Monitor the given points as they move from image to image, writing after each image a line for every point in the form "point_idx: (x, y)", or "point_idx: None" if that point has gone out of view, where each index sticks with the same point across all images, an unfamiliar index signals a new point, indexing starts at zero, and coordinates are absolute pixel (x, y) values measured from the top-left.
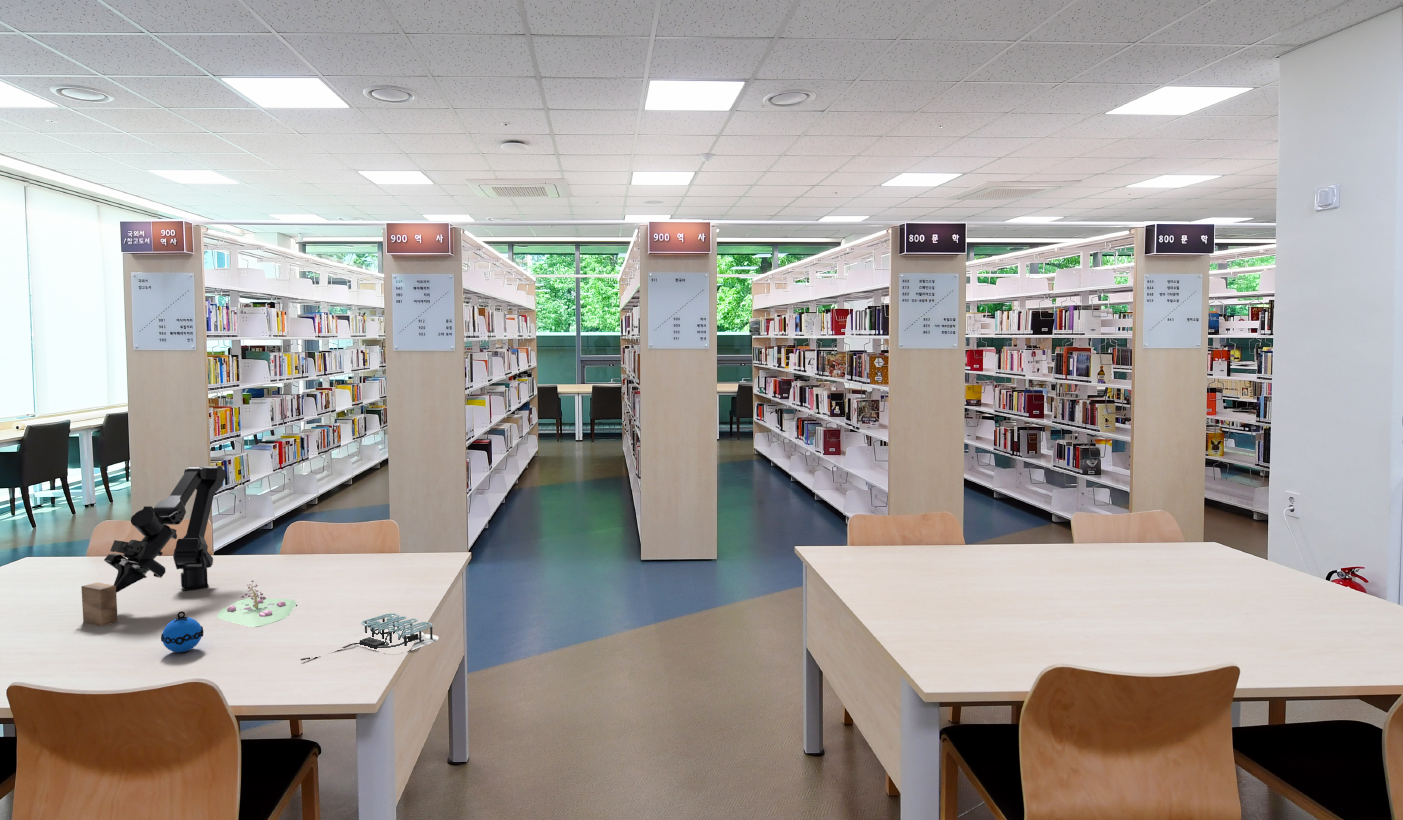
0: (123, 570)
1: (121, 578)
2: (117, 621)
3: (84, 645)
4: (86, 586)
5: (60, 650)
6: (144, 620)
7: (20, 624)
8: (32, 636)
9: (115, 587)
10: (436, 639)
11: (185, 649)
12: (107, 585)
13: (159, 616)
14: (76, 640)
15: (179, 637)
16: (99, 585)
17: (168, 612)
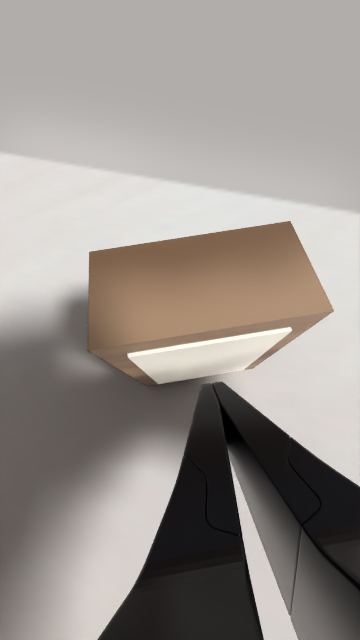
0: (358, 616)
1: (209, 465)
2: (147, 385)
3: (24, 254)
4: (254, 233)
5: (45, 219)
6: (69, 454)
7: (356, 226)
8: (211, 216)
9: (92, 350)
10: None
11: None
12: (156, 317)
13: (60, 528)
14: (80, 256)
15: None
16: (210, 286)
17: (76, 601)
